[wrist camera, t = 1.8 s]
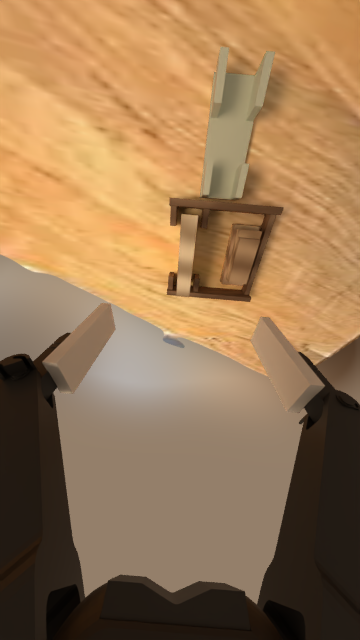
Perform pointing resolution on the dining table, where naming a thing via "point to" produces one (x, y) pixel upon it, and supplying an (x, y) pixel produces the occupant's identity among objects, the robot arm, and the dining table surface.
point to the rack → (230, 248)
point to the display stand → (232, 127)
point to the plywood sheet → (186, 253)
